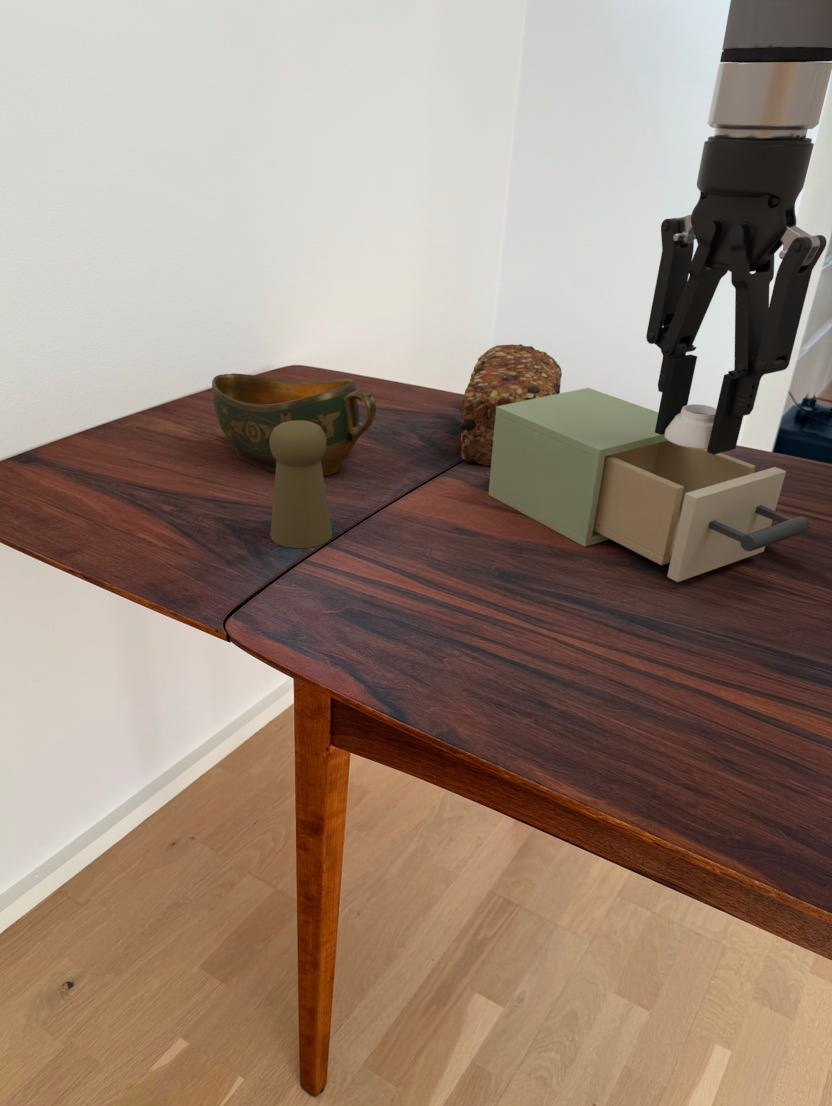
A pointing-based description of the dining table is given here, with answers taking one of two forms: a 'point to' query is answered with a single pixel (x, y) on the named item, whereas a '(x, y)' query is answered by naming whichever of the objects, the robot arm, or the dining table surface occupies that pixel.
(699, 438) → the white jar
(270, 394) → the gravy boat
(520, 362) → the bread
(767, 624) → the dining table surface
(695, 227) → the robot arm
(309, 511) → the olive pawn
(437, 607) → the dining table surface
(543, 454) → the cabinet
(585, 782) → the dining table surface
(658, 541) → the drawer
